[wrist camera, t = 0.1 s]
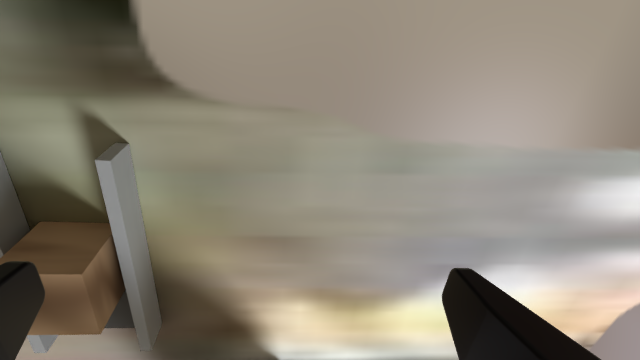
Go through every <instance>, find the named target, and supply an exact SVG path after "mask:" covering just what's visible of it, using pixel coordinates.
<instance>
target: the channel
mask: <svg viewBox="0 0 640 360" xmlns="http://www.w3.org/2000/svg"><path fill="white" fill-rule="evenodd" d="M95 164H96V168H97V172H98V176H99V180H100V185H101V189H102V193H103V197H104V201H105V205H106V209H107V214H108V218H109V222H110V226H111V230H112V234H113V239H114V243H115V247H116V251H117V255H118V259H119V264H120V268H121V272H122V276H123V280H124V284H125V288H126V289H125V291H124V293H123V294H122V296H121V298H120V300H119V302H118V304H117V305H116V307H115V309H114V311H113V313H112V314H111V316H110V318H109V320H108V322H107V324H106V325H105V327H104V328H135V330H136V334H137V338H138V342H139V347H140V351H152V349H153V346H154V343H155V341H156V338H157V335H158V333H159V330H160V328H161V325H162V320H161V315H160V309H159V304H158V299H157V293H156V288H155V282H154V277H153V271H152V266H151V261H150V255H149V250H148V244H147V239H146V234H145V228H144V223H143V217H142V212H141V206H140V201H139V196H138V190H137V185H136V179H135V174H134V169H133V163H132V158H131V152H130V147H129V143H114V144H113V145H112V146H111V147H109V148H108V149H107V150H106V151H105V152H104V153H102V154H101V155H100V156H99V157H98V158H97V159H95ZM28 232H30V229H29V226H28V223H27V221H26V218H25V215H24V213H23V210H22V207H21V205H20V202H19V199H18V197H17V194H16V191H15V189H14V186H13V184H12V181H11V178H10V176H9V173H8V170H7V168H6V165H5V162H4V160H3V157H2V154H1V152H0V258H1V257H2V256H3V255H4V254H6V253H7V252H8V251H9V250H10V249H11V248H12V247H13V246H14V245H15V244H16V243H18V242H19V241H20V240H21V239H22V238H23V237H24V236H25V235H26V234H27V233H28ZM57 336H58V335H27V338H28V340H29V342H30V344H31V346H32V349H33V351H34V353H47V351H48V350H49V348H50V347H51V345H52V344H53V342H54V341H55V339H56V338H57Z"/></svg>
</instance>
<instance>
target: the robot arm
mask: <svg viewBox="0 0 640 360" xmlns="http://www.w3.org/2000/svg"><path fill="white" fill-rule="evenodd" d="M44 299H45V289H44V286H43V283H42V281H41V278H40V275H39V273H38V270H37V267H36V266H35V264H33V263H32V262H29V261H9V262H5V263H3V264H1V265H0V360H15V358H16V356H17V354H18V352H19V350H20V348H21V346H22V344H23V342H24V340H25V338H26V336H27V334H28V332H29V331H30V329H31V327H32V325H33V323H34V321H35V319H36V317H37V315H38V313H39V311H40V309H41V307H42V305H43V302H44ZM442 302H443V306H444V310H445V313H446V316H447V320H448V323H449V327H450V330H451V334H452V337H453V341H454V344H455V347H456V351H457V354H458V358H459V360H601V359H600V358H598V357H597V356H595V355H594V354H592V353H591V352H590V351H588V350H587V349H585V348H584V347H582V346H581V345H580V344H578V343H577V342H575V341H574V340H572V339H571V338H570V337H568V336H567V335H565V334H564V333H562V332H561V331H560V330H558V329H557V328H555V327H554V326H552V325H551V324H549V323H548V322H547V321H545V320H544V319H542V318H541V317H539V316H538V315H537V314H535V313H534V312H532V311H531V310H529V309H528V308H527V307H525V306H524V305H522V304H521V303H519V302H518V301H517V300H515V299H514V298H512V297H511V296H509V295H508V294H507V293H505V292H504V291H502V290H501V289H499V288H498V287H496V286H495V285H494V284H492V283H491V282H489V281H488V280H486V279H485V278H484V277H482V276H481V275H479V274H478V273H476V272H475V271H474V270H472V269H469V268H454V269H452V270H451V271H450V274H449V276H448V279H447V282H446V285H445V287H444V290H443V294H442Z"/></svg>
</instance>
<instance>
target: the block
mask: <svg viewBox="0 0 640 360" xmlns="http://www.w3.org/2000/svg"><path fill="white" fill-rule="evenodd" d="M9 261H29V262H32V263H33V264H35V266H36V267H37V270H38V273H39V275H40V278H41V281H42V283H43V286H44V289H45V299H44V302H43V305H42V307H41V309H40V311H39V313H38V315H37V317H36V319H35V321H34V323H33V325H32V327H31V329H30V331H29V332H28V334H27V335H80V334H101V333H102V331H103V329H104V327H105V325H106V324H107V322H108V320H109V318H110V316H111V314H112V313H113V311H114V309H115V307H116V305H117V304H118V302H119V300H120V298H121V296H122V294H123V293H124V291H125V289H126V288H125V284H124V280H123V276H122V272H121V268H120V264H119V259H118V255H117V251H116V247H115V243H114V239H113V234H112V230H111V226H110V223H85V222H39V223H38V224H37V225H36V226H35V227H34V228H33V229H32V230H31V231H30V232H28V233H27V234H26V235H25V236H24V237H23V238H22V239H21V240H20V241H19V242H18V243H16V244H15V245H14V246H13V247H12V248H11V249H10V250H9V251H8V252H7V253H6V254H4V255H3V256H2V257H1V258H0V265H1V264H3V263H5V262H9Z"/></svg>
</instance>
